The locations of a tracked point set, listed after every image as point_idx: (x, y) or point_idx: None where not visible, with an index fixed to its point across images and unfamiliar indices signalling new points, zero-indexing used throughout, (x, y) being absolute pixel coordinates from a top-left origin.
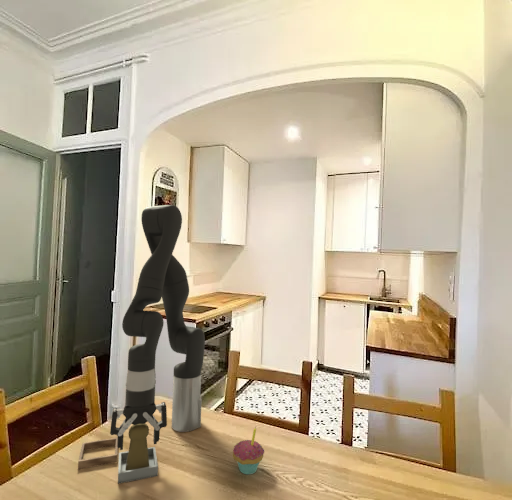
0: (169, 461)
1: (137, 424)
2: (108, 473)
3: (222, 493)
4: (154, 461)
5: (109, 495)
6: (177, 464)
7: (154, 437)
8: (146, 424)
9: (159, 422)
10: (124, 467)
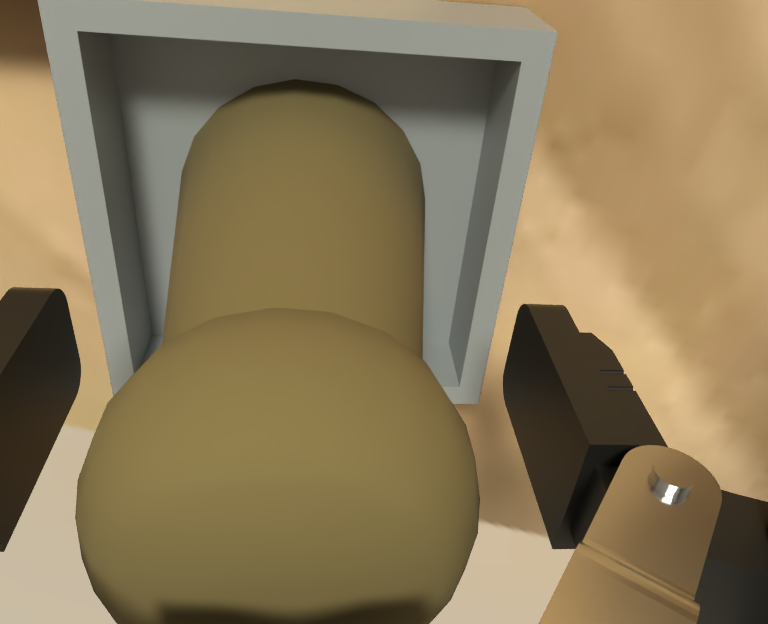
0: (629, 185)
1: (240, 589)
2: (10, 167)
3: None
4: (471, 290)
5: (94, 431)
6: (672, 256)
7: (527, 469)
8: (449, 544)
9: (720, 584)
10: (168, 165)
